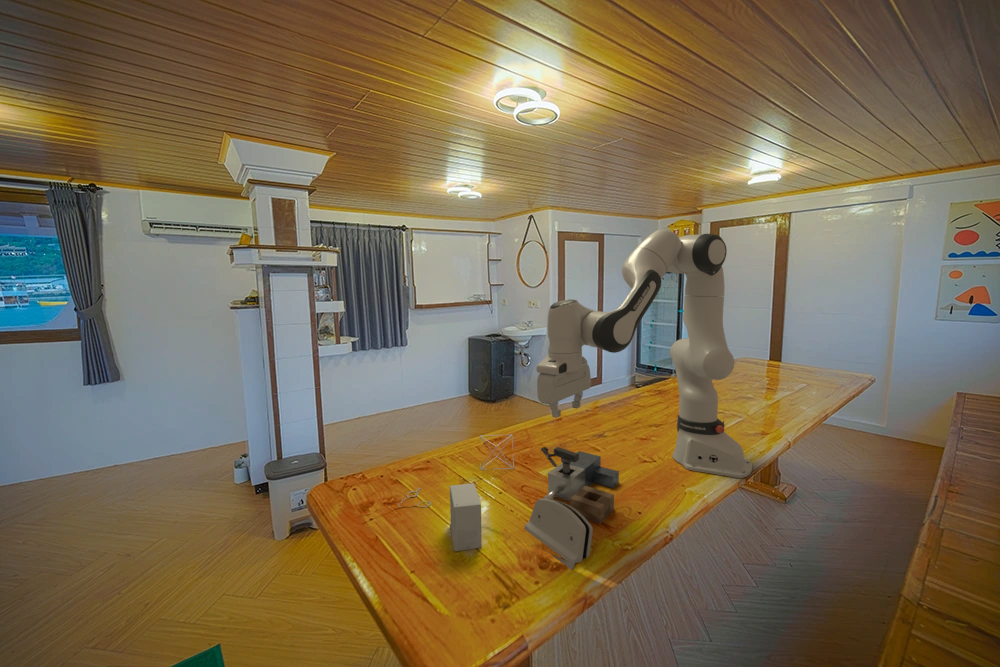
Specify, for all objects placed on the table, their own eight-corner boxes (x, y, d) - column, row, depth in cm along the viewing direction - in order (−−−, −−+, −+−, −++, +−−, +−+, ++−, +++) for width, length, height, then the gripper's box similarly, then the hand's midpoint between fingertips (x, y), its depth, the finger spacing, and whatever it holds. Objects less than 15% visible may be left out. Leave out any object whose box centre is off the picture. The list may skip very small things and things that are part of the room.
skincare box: (483, 547, 92) (481, 503, 91) (454, 552, 91) (452, 507, 89) (476, 521, 102) (474, 481, 101) (450, 525, 101) (448, 485, 100)
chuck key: (559, 482, 116) (559, 446, 115) (580, 491, 111) (579, 453, 110) (553, 486, 115) (552, 449, 113) (574, 495, 110) (573, 456, 108)
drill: (579, 472, 127) (579, 451, 126) (620, 484, 119) (620, 461, 118) (534, 508, 107) (533, 483, 106) (579, 525, 99) (579, 498, 98)
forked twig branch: (540, 450, 146) (540, 446, 145) (567, 447, 148) (567, 443, 147) (564, 482, 122) (563, 477, 122) (596, 477, 124) (596, 472, 124)
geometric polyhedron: (521, 462, 136) (520, 435, 135) (505, 475, 126) (504, 447, 125) (489, 455, 142) (488, 430, 141) (471, 468, 132) (470, 440, 131)
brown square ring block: (613, 513, 104) (613, 494, 104) (600, 528, 98) (600, 508, 97) (585, 503, 109) (585, 485, 109) (570, 517, 103) (570, 498, 102)
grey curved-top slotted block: (521, 532, 97) (532, 490, 98) (536, 531, 100) (546, 490, 101) (572, 571, 84) (584, 522, 85) (588, 569, 87) (599, 521, 87)
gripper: (576, 354, 119) (577, 401, 120) (532, 367, 104) (534, 420, 106) (596, 356, 114) (597, 404, 116) (552, 369, 100) (554, 425, 101)
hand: (566, 412), depth 111 cm, fingers open, 8 cm apart
